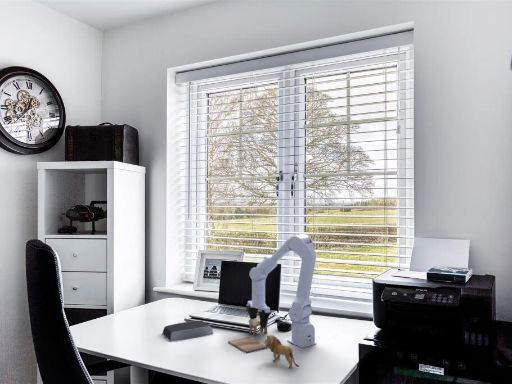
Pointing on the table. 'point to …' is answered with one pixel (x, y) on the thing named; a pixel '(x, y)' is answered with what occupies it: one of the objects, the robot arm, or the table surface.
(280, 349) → the lion figurine
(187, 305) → the table surface
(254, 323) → the birch stool
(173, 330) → the external hard drive
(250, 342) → the walnut mat
